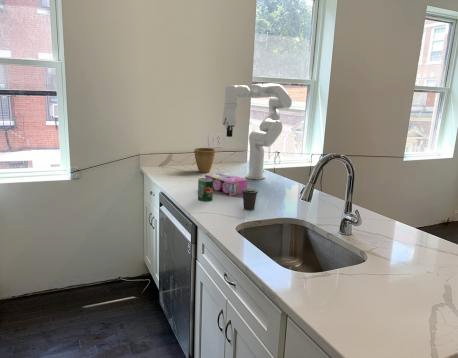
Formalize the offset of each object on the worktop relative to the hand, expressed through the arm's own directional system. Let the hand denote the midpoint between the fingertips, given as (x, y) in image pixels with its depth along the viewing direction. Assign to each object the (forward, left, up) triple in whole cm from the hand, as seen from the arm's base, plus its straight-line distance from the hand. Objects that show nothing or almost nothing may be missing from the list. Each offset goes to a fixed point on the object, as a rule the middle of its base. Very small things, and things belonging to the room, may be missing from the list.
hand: (229, 136), depth 235 cm
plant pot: (-17, -29, -29) cm, 45 cm away
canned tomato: (+41, +10, -29) cm, 51 cm away
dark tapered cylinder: (+41, +36, -29) cm, 62 cm away
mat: (+19, +13, -29) cm, 37 cm away
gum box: (+11, +12, -25) cm, 30 cm away
